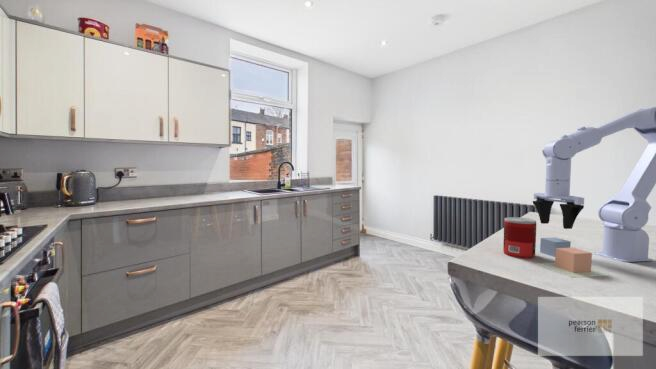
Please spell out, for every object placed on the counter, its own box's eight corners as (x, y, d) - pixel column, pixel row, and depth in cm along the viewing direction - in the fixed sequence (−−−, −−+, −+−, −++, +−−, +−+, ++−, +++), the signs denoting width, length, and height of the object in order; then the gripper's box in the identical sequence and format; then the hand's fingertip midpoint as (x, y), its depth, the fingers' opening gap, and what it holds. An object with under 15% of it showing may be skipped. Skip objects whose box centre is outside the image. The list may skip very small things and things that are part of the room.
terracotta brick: (571, 265, 77) (572, 247, 77) (590, 271, 72) (591, 252, 72) (554, 266, 76) (555, 248, 76) (573, 272, 71) (573, 253, 71)
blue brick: (554, 252, 90) (555, 237, 89) (569, 257, 85) (570, 241, 84) (540, 253, 89) (540, 238, 89) (554, 258, 84) (555, 242, 84)
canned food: (540, 260, 82) (541, 222, 81) (509, 258, 83) (510, 221, 83) (527, 252, 89) (528, 217, 89) (499, 251, 91) (500, 216, 90)
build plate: (572, 262, 80) (572, 261, 80) (612, 276, 70) (612, 275, 70) (536, 264, 78) (536, 263, 78) (572, 278, 68) (572, 277, 68)
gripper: (525, 179, 92) (524, 221, 93) (568, 181, 78) (566, 231, 79) (545, 179, 93) (543, 221, 94) (591, 181, 79) (589, 230, 79)
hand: (555, 225), depth 86 cm, fingers open, 7 cm apart
